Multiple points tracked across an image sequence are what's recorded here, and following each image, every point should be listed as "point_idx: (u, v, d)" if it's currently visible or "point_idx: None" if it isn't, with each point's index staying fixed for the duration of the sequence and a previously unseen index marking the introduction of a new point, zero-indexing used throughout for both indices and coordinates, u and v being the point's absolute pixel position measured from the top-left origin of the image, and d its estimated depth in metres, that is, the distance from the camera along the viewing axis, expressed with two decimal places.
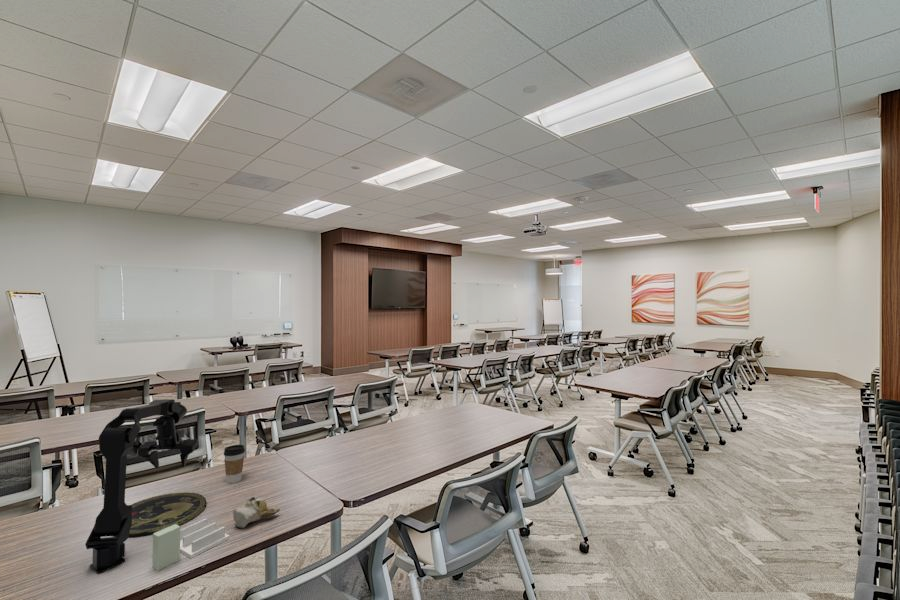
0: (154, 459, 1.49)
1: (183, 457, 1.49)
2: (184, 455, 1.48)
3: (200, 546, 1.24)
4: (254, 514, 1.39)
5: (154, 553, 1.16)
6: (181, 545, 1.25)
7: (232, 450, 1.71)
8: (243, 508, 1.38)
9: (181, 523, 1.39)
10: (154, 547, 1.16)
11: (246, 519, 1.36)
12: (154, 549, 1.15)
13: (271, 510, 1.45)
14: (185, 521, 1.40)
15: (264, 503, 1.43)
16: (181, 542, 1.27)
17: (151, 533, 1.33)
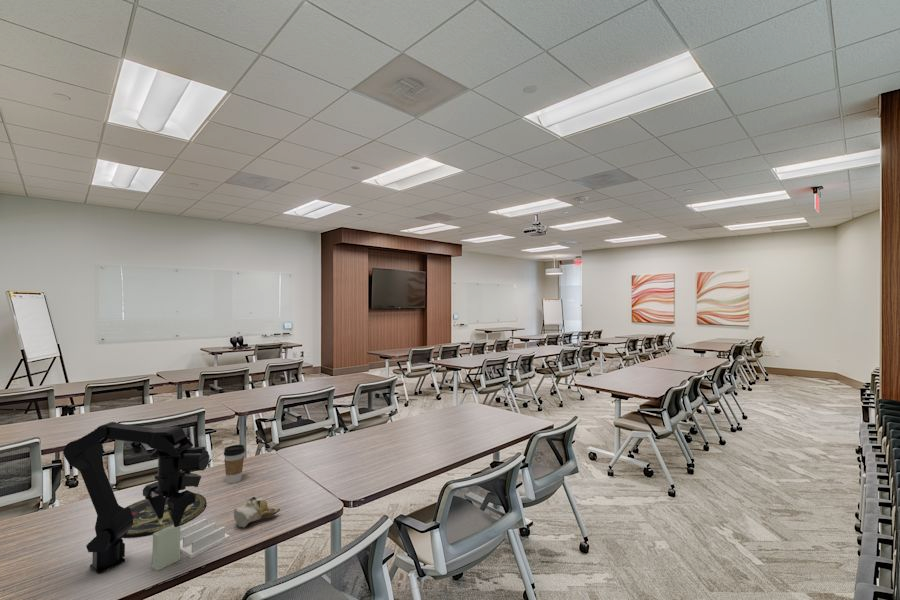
0: (157, 505, 1.20)
1: (170, 513, 1.14)
2: (170, 510, 1.13)
3: (200, 546, 1.24)
4: (255, 514, 1.39)
5: (154, 553, 1.16)
6: (181, 545, 1.25)
7: (232, 450, 1.71)
8: (244, 508, 1.38)
9: (181, 523, 1.39)
10: (154, 547, 1.16)
11: (247, 519, 1.36)
12: (154, 549, 1.15)
13: (272, 510, 1.45)
14: (185, 521, 1.40)
15: (265, 503, 1.43)
16: (181, 542, 1.27)
17: (151, 533, 1.33)
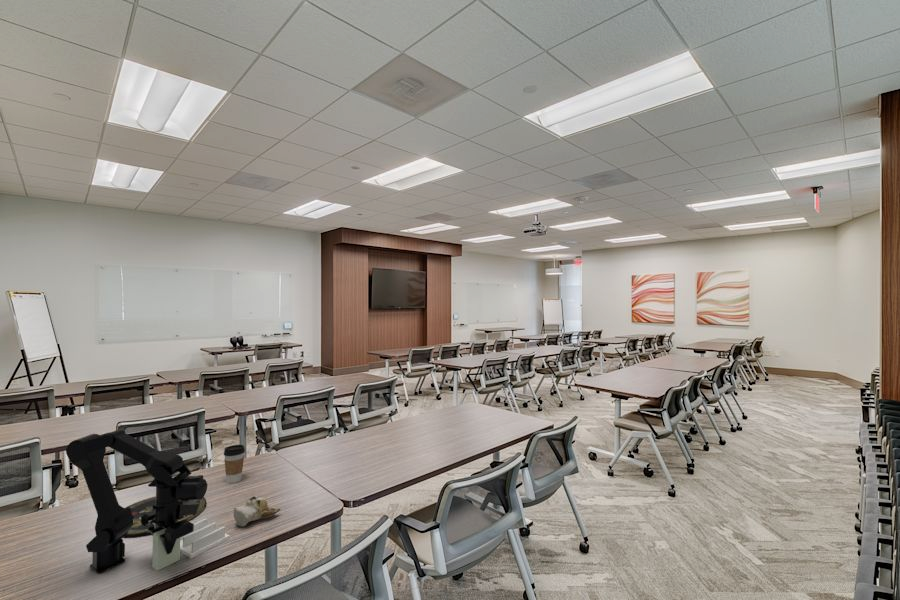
0: None
1: (162, 540, 1.14)
2: (162, 538, 1.14)
3: (200, 546, 1.24)
4: (254, 513, 1.39)
5: (154, 553, 1.15)
6: (181, 545, 1.25)
7: (232, 450, 1.71)
8: (243, 507, 1.39)
9: None
10: (154, 547, 1.16)
11: (246, 518, 1.37)
12: (154, 549, 1.15)
13: (272, 510, 1.45)
14: None
15: (265, 502, 1.44)
16: (181, 542, 1.27)
17: None
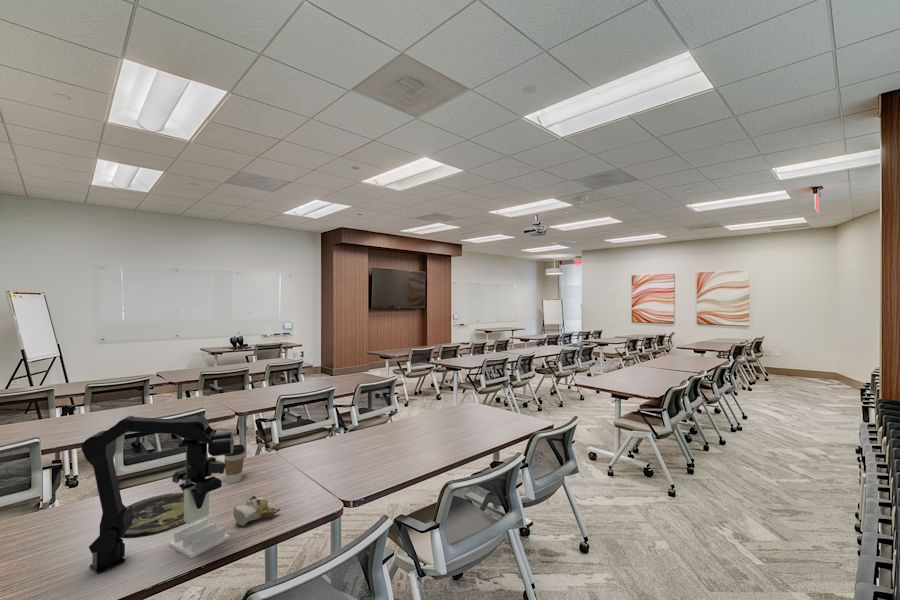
0: None
1: (193, 495, 1.21)
2: (193, 493, 1.21)
3: (200, 546, 1.24)
4: (254, 513, 1.40)
5: (185, 507, 1.23)
6: (181, 545, 1.25)
7: None
8: (243, 506, 1.39)
9: (181, 523, 1.39)
10: (185, 502, 1.23)
11: (246, 518, 1.37)
12: (185, 504, 1.23)
13: (272, 509, 1.45)
14: None
15: (265, 502, 1.44)
16: (181, 542, 1.27)
17: (151, 533, 1.33)
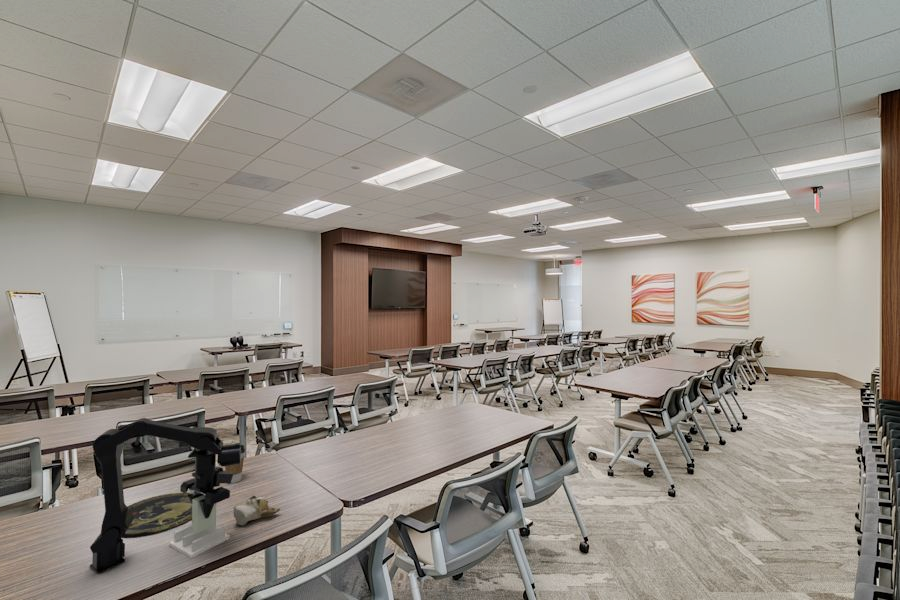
0: None
1: (201, 505, 1.24)
2: (201, 503, 1.23)
3: (200, 546, 1.24)
4: (254, 512, 1.40)
5: (193, 517, 1.25)
6: (181, 545, 1.25)
7: None
8: (243, 506, 1.40)
9: (181, 523, 1.39)
10: (193, 511, 1.25)
11: (245, 517, 1.37)
12: (194, 513, 1.25)
13: (272, 509, 1.45)
14: (185, 521, 1.40)
15: (265, 502, 1.44)
16: (181, 542, 1.27)
17: (151, 533, 1.33)
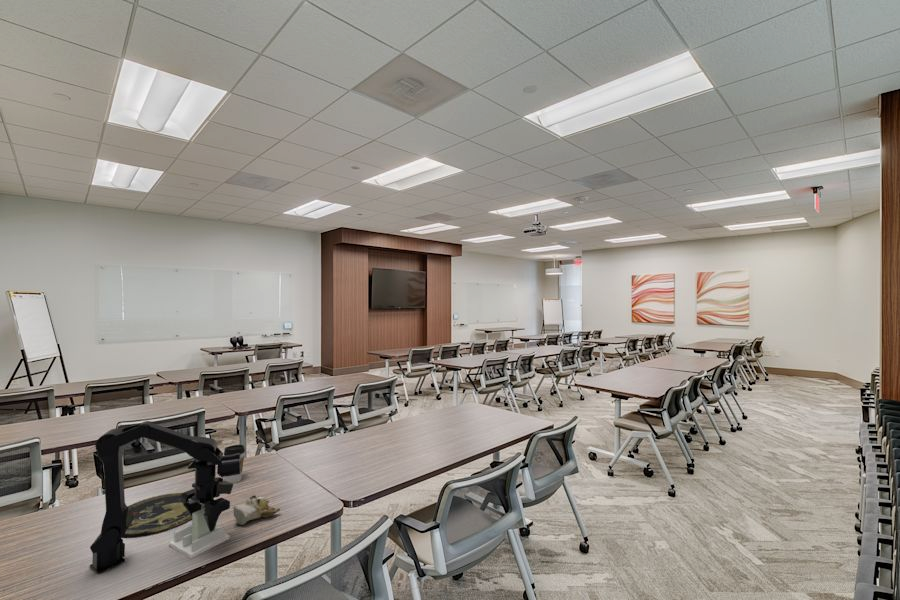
0: (194, 511, 1.29)
1: (206, 518, 1.23)
2: (206, 516, 1.22)
3: (200, 546, 1.24)
4: (253, 512, 1.40)
5: (193, 531, 1.25)
6: (181, 545, 1.25)
7: (232, 450, 1.71)
8: (243, 505, 1.40)
9: (181, 523, 1.39)
10: (193, 526, 1.25)
11: (245, 517, 1.38)
12: (194, 527, 1.25)
13: (272, 509, 1.45)
14: (185, 521, 1.40)
15: (265, 502, 1.44)
16: (181, 542, 1.27)
17: (151, 533, 1.33)
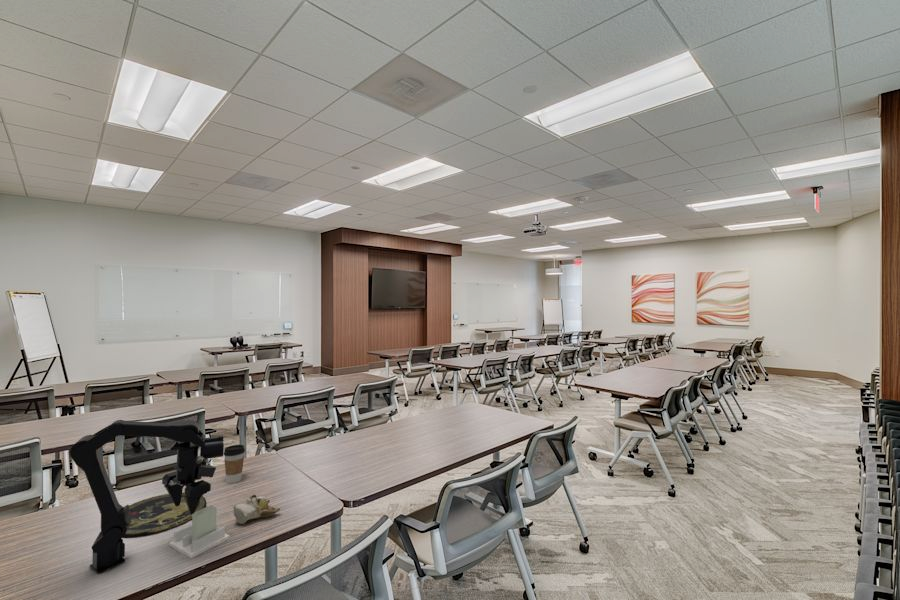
0: (174, 493, 1.29)
1: (186, 500, 1.22)
2: (186, 498, 1.21)
3: (200, 546, 1.24)
4: (253, 512, 1.40)
5: (193, 531, 1.25)
6: (181, 545, 1.25)
7: (232, 450, 1.71)
8: (243, 505, 1.40)
9: (181, 523, 1.39)
10: (193, 526, 1.25)
11: (245, 516, 1.38)
12: (194, 527, 1.25)
13: (272, 509, 1.46)
14: (185, 521, 1.40)
15: (265, 501, 1.44)
16: (181, 542, 1.27)
17: (151, 533, 1.33)
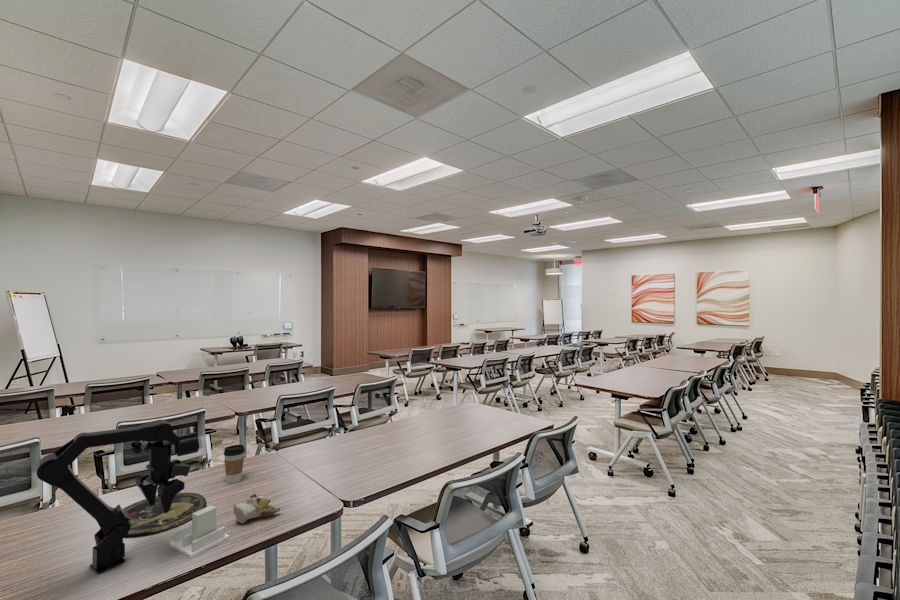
0: (148, 493, 1.28)
1: (160, 499, 1.21)
2: (159, 497, 1.21)
3: (200, 546, 1.24)
4: (253, 511, 1.41)
5: (193, 531, 1.25)
6: (181, 545, 1.25)
7: (232, 450, 1.71)
8: (243, 504, 1.41)
9: (181, 523, 1.39)
10: (193, 526, 1.25)
11: (244, 515, 1.38)
12: (194, 527, 1.25)
13: (272, 508, 1.46)
14: (185, 521, 1.40)
15: (265, 501, 1.45)
16: (181, 542, 1.27)
17: (151, 533, 1.33)
